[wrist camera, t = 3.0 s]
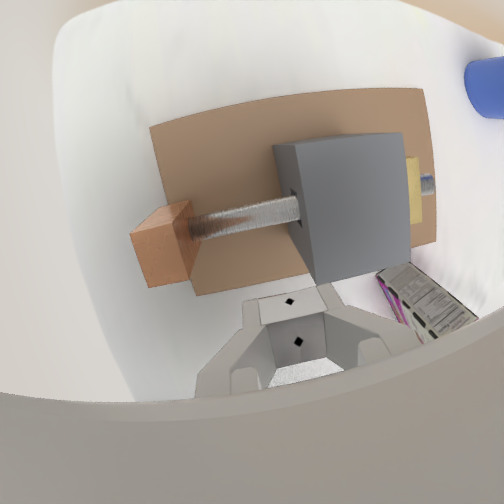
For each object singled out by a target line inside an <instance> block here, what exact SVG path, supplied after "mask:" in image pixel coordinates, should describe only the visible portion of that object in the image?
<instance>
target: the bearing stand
mask: <svg viewBox="0 0 504 504" xmlns="http://www.w3.org/2000/svg"><path fill="white" fill-rule="evenodd" d="M149 129H150V133H151V138H152V142H153V146H154V151H155V155H156V159H157V163H158V167H159V171H160V175H161V179H162V183H163V187H164V190H165V194H166V198H167V202H168V205H170V204H174V203H178V202H182V201H186V200H190V199H191V203H192V206H193V210H194V214H195V216H199V215H203V214H207V213H212V212H216V211H220V210H225V209H229V208H234V207H238V206H243V205H248V204H252V203H257V202H262V201H266V200H271V199H276V198H281V197H286V196H291V195H296V194H297V198H298V204H299V210H300V216H301V219H300V220H295V221H290V222H285V223H281V224H276V225H271V226H266V227H262V228H257V229H252V230H248V231H243V232H238V233H234V234H229V235H225V236H220V237H216V238H211V239H207V240H202V242H201V245H200V248H199V251H198V254H197V257H196V260H195V263H194V266H193V269H192V272H191V275H190V279H191V282H192V285H193V288H194V291H195V294H196V296H201V295H206V294H211V293H216V292H221V291H226V290H231V289H236V288H241V287H246V286H251V285H255V284H260V283H265V282H270V281H274V280H279V279H283V278H288V277H293V276H297V275H302V274H306V273H310V274H311V276H312V278H313V280H314V281H315V283H316V285H317V286H318V285H322V284H325V283H331V282H335V281H339V280H343V279H347V278H351V277H355V276H359V275H363V274H367V273H371V272H375V271H379V270H382V269H386V268H390V267H394V266H397V265H401V264H405V263H408V262H410V254H411V248H413V247H417V246H421V245H425V244H428V243H432V242H436V186H435V192H434V193H433V194H431V195H425V196H421V200H422V222H420V223H416V224H412V225H410V203H409V187H408V175H407V165H406V156H413V157H418V160H419V170H420V174H424V173H429V174H431V175H432V176H433V178H434V181H435V171H434V159H433V149H432V141H431V133H430V126H429V119H428V113H427V108H426V102H425V97H424V92H423V89H412V88H369V89H347V90H333V91H322V92H312V93H303V94H295V95H288V96H281V97H274V98H268V99H262V100H256V101H251V102H246V103H241V104H236V105H231V106H226V107H222V108H217V109H213V110H209V111H205V112H201V113H197V114H193V115H189V116H186V117H182V118H179V119H175V120H172V121H168V122H165V123H162V124H158V125H155V126H152V127H149ZM405 155H406V156H405Z"/></svg>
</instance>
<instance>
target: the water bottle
mask: <svg viewBox="0 0 504 504" xmlns="http://www.w3.org/2000/svg"><path fill="white" fill-rule="evenodd" d="M464 80H465V87H466V91H467V94H468V97H469V99H470V101H471V103H472V105H473V107H474V108H475V109H476V111H477V112H478V113H479V114H480V115H482V116H483V117H485V118H493V119H504V56H502V57H496V58H490V59H484V60H478V61H473V62H471V63H469V64H468V65H467V67H466V69H465V76H464Z"/></svg>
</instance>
